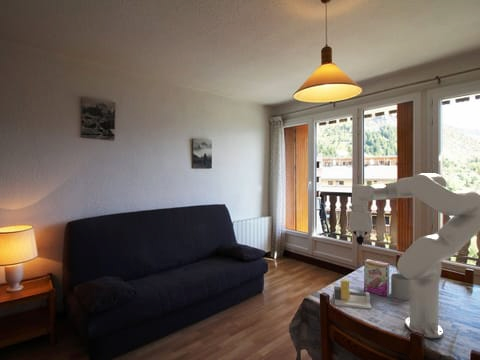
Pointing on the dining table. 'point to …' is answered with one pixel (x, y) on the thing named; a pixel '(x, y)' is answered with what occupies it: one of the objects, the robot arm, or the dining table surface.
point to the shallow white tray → (352, 299)
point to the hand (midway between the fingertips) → (359, 243)
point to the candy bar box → (376, 277)
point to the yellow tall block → (345, 289)
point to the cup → (400, 287)
